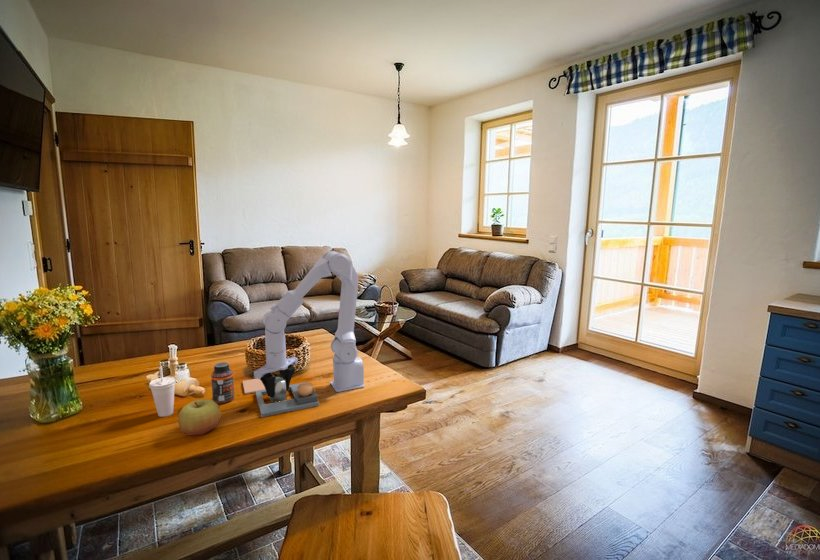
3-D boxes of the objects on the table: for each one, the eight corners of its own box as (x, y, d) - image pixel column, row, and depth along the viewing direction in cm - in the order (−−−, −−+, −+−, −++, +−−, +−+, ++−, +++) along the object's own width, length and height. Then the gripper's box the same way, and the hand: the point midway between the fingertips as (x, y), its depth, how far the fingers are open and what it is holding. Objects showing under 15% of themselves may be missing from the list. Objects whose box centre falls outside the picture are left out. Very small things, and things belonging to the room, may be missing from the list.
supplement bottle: (226, 405, 119) (223, 369, 117) (208, 403, 121) (205, 367, 119) (238, 396, 125) (236, 361, 123) (221, 394, 126) (218, 360, 124)
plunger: (311, 392, 124) (310, 381, 124) (314, 398, 121) (314, 387, 120) (296, 395, 122) (296, 384, 122) (299, 401, 119) (299, 390, 118)
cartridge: (285, 393, 127) (284, 373, 126) (287, 400, 123) (286, 379, 122) (269, 396, 125) (268, 376, 124) (271, 403, 121) (270, 382, 120)
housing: (307, 384, 134) (306, 377, 133) (318, 405, 120) (318, 397, 119) (255, 394, 127) (255, 386, 126) (261, 417, 113) (261, 408, 112)
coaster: (273, 377, 140) (273, 375, 139) (278, 388, 131) (278, 387, 131) (242, 382, 135) (242, 380, 135) (245, 394, 126) (244, 392, 126)
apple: (179, 426, 108) (176, 398, 107) (219, 417, 113) (217, 390, 111) (179, 444, 100) (176, 414, 98) (223, 434, 104) (220, 405, 103)
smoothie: (151, 421, 110) (145, 372, 108) (153, 411, 116) (148, 364, 114) (178, 416, 113) (173, 368, 111) (179, 406, 119) (174, 360, 116)
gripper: (263, 360, 113) (266, 405, 116) (303, 346, 125) (305, 387, 127) (248, 355, 117) (251, 399, 119) (288, 342, 129) (290, 382, 131)
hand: (278, 393), depth 124 cm, fingers closed on cartridge, 5 cm apart
